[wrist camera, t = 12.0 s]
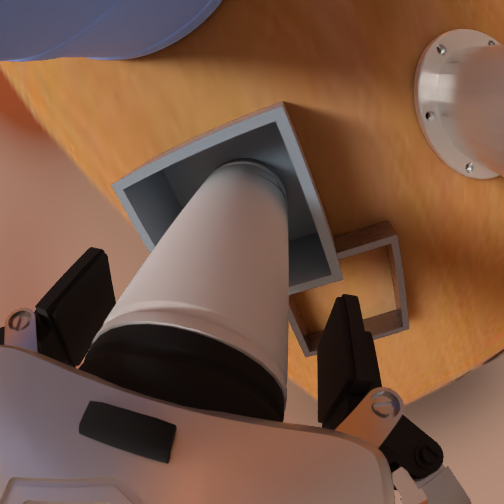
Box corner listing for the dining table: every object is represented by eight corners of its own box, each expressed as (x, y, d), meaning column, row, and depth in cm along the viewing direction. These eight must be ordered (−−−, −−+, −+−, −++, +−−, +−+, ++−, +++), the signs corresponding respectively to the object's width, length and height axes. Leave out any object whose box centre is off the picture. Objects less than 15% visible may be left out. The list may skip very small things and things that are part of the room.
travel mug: (293, 157, 21) (313, 475, 4) (282, 239, 24) (264, 524, 7) (205, 149, 21) (-10, 383, 4) (203, 230, 24) (90, 483, 7)
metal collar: (388, 220, 23) (397, 234, 21) (402, 312, 28) (409, 328, 26) (268, 257, 26) (267, 273, 24) (304, 339, 31) (305, 357, 29)
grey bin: (283, 101, 20) (282, 106, 14) (330, 229, 24) (343, 279, 18) (154, 156, 23) (111, 184, 17) (212, 266, 27) (192, 319, 21)
